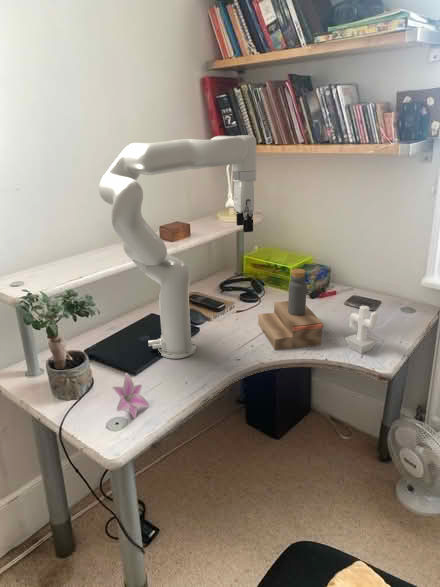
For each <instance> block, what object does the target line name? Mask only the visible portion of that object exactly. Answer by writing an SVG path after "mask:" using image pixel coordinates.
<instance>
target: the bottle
mask: <svg viewBox="0 0 440 587" xmlns="http://www.w3.org/2000/svg"><path fill="white" fill-rule="evenodd" d="M290 272H291V274H290V277H289V278H290V280H291V281H289V283H288V300H287V301H288V312H289V313H290V314H292V315H303V314H305V307H306V306H307V304H306V303H307V289H308V288H307V282H306V281H305V280H306V279H307V276H306V270H305V269H303V268H293V269H291V271H290Z"/></svg>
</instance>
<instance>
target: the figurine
mask: <svg viewBox="0 0 440 587" xmlns="http://www.w3.org/2000/svg"><path fill="white" fill-rule="evenodd" d="M369 312H370V307H369V306H367V305H360V306H359V311H358V313H357V312H352V313H351V314H350V318H349V328H350V329H355V328H357V333H354V334H352V335H348V336H346V337H344V339H345V341H346V343H347V345H348V346H349V348H350V350H353V351H355V352H357V353H358V354H360V355H361V354H364V353H367V352H368V351H371V349H372V348H373V347H374V346H375V345H376V343H377V342H378V341H379V340H378V339H376V338H374V337H372V336H369V335H368V334H367V330H368V329H371V330H374V329H375V328H376V326H377V322H378V313H377V312H375V311H373V312H372V313H370V318H369ZM356 326H357V327H356Z"/></svg>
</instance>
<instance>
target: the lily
mask: <svg viewBox="0 0 440 587" xmlns="http://www.w3.org/2000/svg"><path fill="white" fill-rule="evenodd" d="M111 388H112V390H113V391H114V392H115V393H116V394H117V395H118V397H119V401H118V404H117V407H116V411H117V412H122V411H126V410H129V412H130V414H131V416H132V418H133V420H134V419H136V418H137V411H138V408H149V407H150V406H151V405H150V403H149V402H148V400H147V399H146V398H145V397H144V396H143V395H142V394H141V391H142V389H143V385H142V384H136V385H135V384H134V382H133V380H132V378H131V377H130V374H129V373H128V372H125V373H124V378H123V386H112V387H111Z"/></svg>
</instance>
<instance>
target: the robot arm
mask: <svg viewBox="0 0 440 587" xmlns="http://www.w3.org/2000/svg"><path fill="white" fill-rule="evenodd" d="M230 165H232V182H234V186H233V187H234V188H233V209H234V210H235V211H236V214H235V215H236V226H242V231H243V233H252V232H254V213H253V212H254V211H255V186H254V182H256V181H257V138H256V137H255V135H251V134H244V135H243V134H241V135H240V134H239V135H235V136H234V135H233V136H232V135H217V136H216V135H215V136H213V137H212V138H210V139H198V138H197V139H194V138H180V139H172V140H168V141H167V140H166V141H165V140H164V141H158V142H157V141H155V142H146V143H145V142H144V143H143V142H133V143H132V142H131V143H130V144H129V145H127V146H125V148H123V150H122V151H121V152H120V153H119V155H118V156H117V158H115V160H114V162H113V163H112V164H111V166H110V167H109V168H108V170H107V171H106V172H105V173H104V174H103V176H102V178H101V179H100V182H99V184H98V185H99V186H98V191H99V195H100V198H102V200H103V201H104V202H106V203H107V204H109V205H111V206H112V208H111V224H112V228H113V230H114V232H115V233H116V234H117V236H118V237H119V238H120V239H121V241H122V247H123V250H124V252H125V255H127V257H128V258H129V259H130V260H131V261H132V262H133V263H134V264H135V266H137V268H139V269H140V270H141V271H142V272H143V273H144V274H145V275H146V276H147V277H148V278H150V279H151V280H153V281H154V282H157V284H159V285H160V290H159V291H160V292H159V295H158V309H159V317H160V320H159V321H160V329H161V330H160V331H161V335H160V338H159V337H158V338H157V339H151V340H149V339H148V340H147V341H148V343H147V344H148V347H151V348H152V349H157V350H158V351H159V352H160V353H161V355H160V356H162V357H164V358H167V359H173V360H175V359H183V358H187V357H190V356H191V355H193V354H195V352H196V351H197V344H196V342H195V341H194V340H192V330H191V329H192V328H191V315H190V313H191V312H190V311H191V310H190V294H189V292H190V284H191V270H190V268H189V266H188V265H187V264H186V262H184V261H183V260H181V259H179V258H177V257H176V256H173V255H170V254H168V249H167V246H166V244H165V242H164V240H163V239H162V238H161V237H160V236H159V235H158V234H157V233H156V232H155V231H154V230H153V228H152V227H151V226H150V225H149V224H148V222H147V221H146V220H145V218H144V217H143V215H142V205H143V200H144V191H143V188H142V186H141V184H140V183H139V182H138V181H137V179H138V178H139V177H140V176H141V175H145V176H155V175H162V174H168V173H174V172H180V171H187V170H198V169H204V168H206V169H207V168H214V167H216V168H217V167H223V166H230ZM160 348H161V349H160ZM158 351H157V352H158ZM159 352H158V353H159Z"/></svg>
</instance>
